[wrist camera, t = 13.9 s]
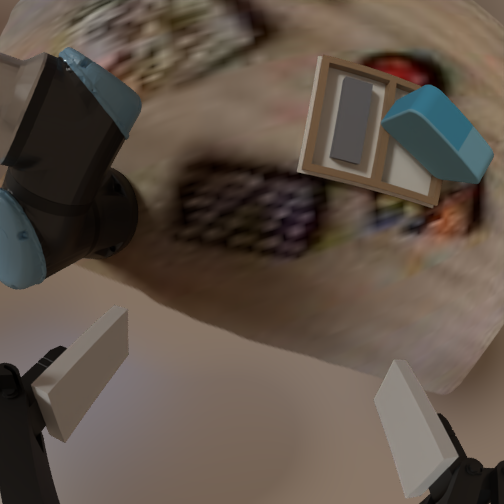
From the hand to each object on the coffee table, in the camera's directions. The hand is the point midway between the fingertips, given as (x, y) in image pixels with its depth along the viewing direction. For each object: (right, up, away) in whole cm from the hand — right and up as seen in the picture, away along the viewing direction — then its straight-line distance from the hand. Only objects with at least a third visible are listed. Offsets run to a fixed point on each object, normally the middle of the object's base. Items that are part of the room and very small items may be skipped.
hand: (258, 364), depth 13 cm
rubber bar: (+13, +24, +25) cm, 37 cm away
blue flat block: (+23, +21, +23) cm, 38 cm away
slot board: (+18, +23, +25) cm, 39 cm away
